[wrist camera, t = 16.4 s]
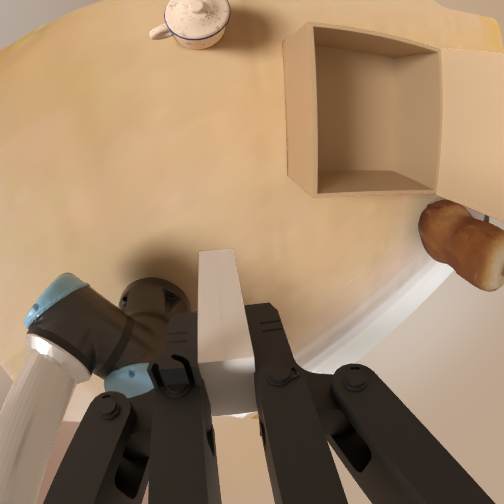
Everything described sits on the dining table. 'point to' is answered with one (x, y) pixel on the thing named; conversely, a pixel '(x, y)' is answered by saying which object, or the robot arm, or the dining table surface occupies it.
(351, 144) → the carton
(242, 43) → the dining table surface
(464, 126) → the carton lid
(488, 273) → the butternut squash
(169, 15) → the teacup with lid
